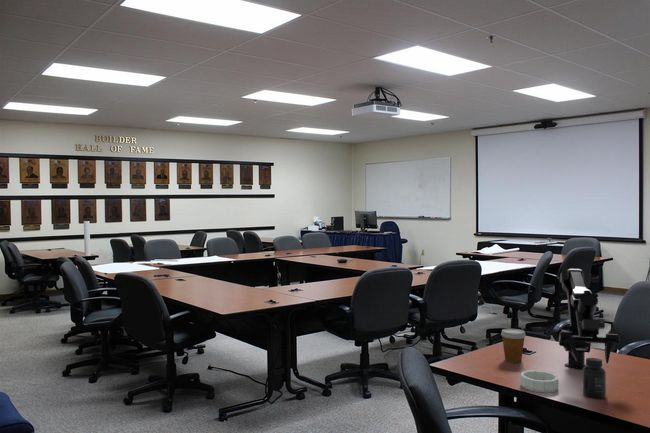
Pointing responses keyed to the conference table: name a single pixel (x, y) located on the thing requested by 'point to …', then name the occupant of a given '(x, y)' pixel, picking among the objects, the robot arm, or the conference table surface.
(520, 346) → the disposable coffee cup
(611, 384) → the conference table surface
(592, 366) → the supplement bottle
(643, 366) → the conference table surface
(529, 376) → the ring stand
